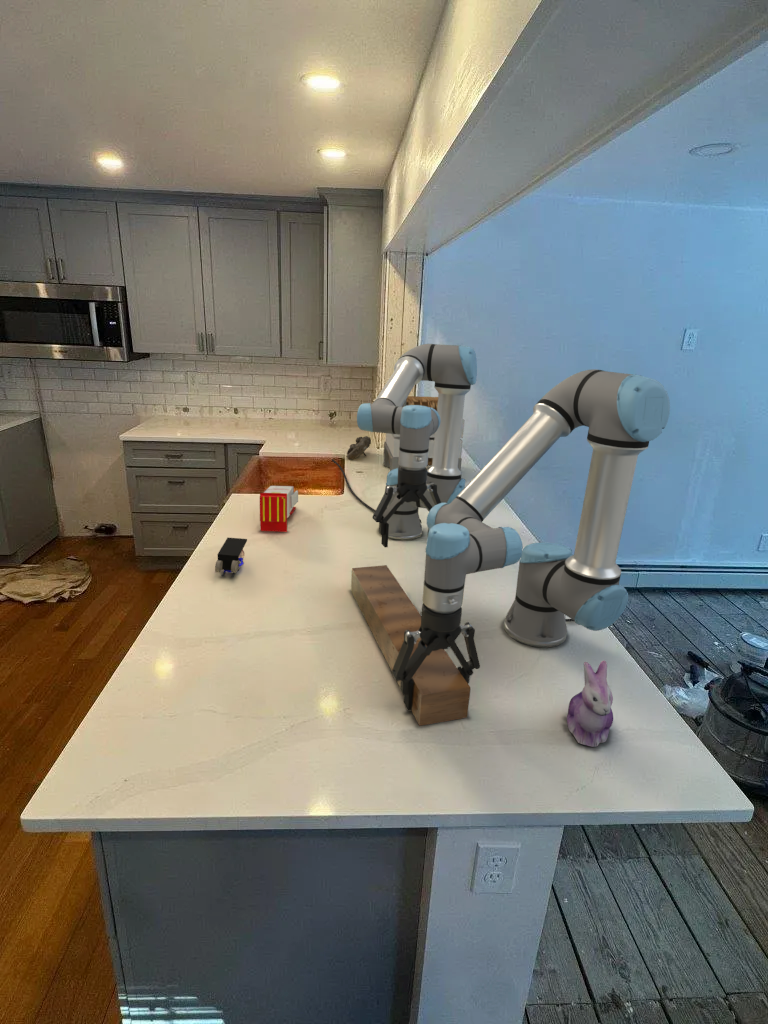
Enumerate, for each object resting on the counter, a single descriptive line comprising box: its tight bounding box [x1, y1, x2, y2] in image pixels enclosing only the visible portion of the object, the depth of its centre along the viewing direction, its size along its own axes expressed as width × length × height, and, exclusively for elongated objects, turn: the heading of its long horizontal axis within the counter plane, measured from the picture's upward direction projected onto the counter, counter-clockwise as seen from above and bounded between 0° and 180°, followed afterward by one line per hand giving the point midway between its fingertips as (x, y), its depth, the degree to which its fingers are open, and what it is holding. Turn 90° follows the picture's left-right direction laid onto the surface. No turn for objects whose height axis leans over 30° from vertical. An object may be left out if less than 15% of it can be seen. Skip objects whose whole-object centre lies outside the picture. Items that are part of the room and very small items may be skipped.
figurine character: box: [214, 537, 248, 578], centre depth 166 cm, size 7×8×15 cm
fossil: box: [346, 435, 372, 461], centre depth 300 cm, size 22×10×15 cm
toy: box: [259, 485, 299, 533], centre depth 208 cm, size 12×13×30 cm
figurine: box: [566, 660, 614, 748], centre depth 106 cm, size 9×10×15 cm
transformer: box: [383, 395, 465, 472], centre depth 268 cm, size 34×33×41 cm
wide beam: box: [350, 564, 471, 727], centre depth 133 cm, size 56×10×7 cm, turn 17°
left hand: (407, 543), depth 153 cm, fingers open, 13 cm apart
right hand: (433, 701), depth 114 cm, fingers open, 10 cm apart
